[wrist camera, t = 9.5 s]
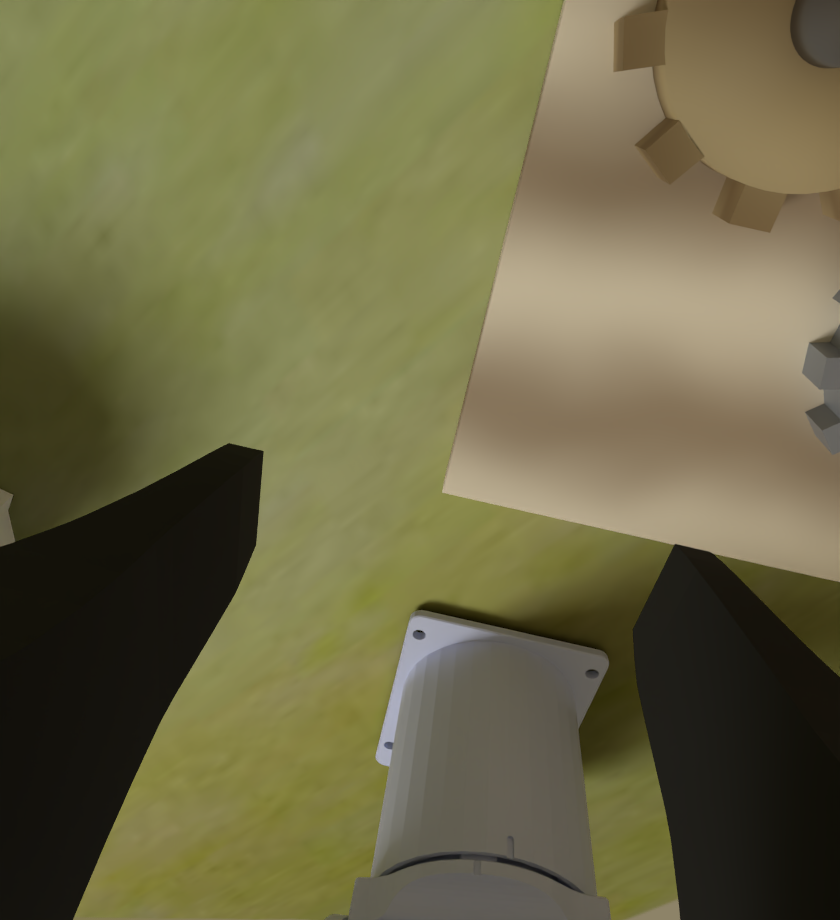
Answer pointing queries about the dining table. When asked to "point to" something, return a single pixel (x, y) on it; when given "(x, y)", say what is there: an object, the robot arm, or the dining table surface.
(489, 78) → the dining table surface
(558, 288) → the carrier
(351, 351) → the dining table surface
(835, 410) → the planet gear
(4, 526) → the cup
